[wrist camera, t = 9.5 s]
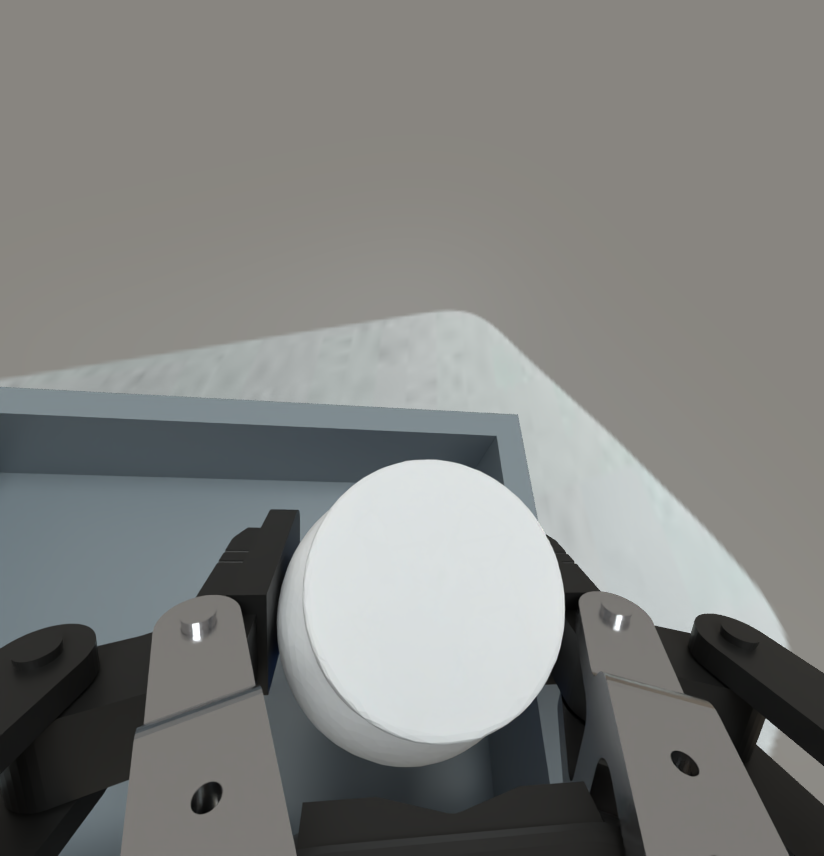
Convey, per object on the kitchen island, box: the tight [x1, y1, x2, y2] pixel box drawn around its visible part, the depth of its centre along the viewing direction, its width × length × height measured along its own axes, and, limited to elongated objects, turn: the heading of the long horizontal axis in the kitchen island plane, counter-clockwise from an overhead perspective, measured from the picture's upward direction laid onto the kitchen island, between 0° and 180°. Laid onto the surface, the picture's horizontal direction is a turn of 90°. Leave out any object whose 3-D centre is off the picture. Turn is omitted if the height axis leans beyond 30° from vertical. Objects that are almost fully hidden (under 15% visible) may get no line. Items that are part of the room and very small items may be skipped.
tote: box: [0, 387, 563, 856], centre depth 13 cm, size 22×14×6 cm, turn 91°
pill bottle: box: [277, 460, 565, 767], centre depth 10 cm, size 6×5×10 cm
